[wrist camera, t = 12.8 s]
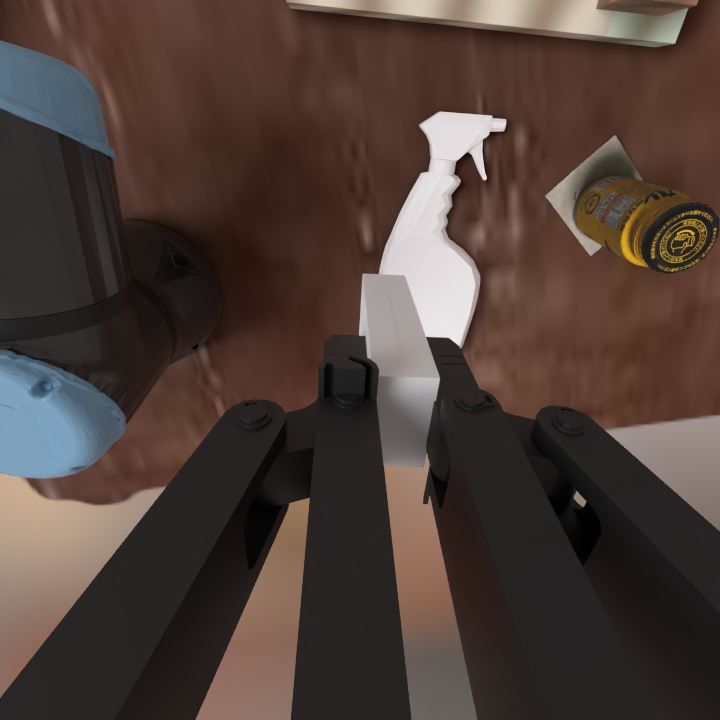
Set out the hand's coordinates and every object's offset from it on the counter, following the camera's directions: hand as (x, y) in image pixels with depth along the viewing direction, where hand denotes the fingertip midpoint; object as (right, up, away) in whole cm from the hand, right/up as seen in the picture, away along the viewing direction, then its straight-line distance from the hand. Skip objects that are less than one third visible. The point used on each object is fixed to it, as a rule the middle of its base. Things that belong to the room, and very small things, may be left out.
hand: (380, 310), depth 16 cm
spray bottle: (+7, +10, +29) cm, 31 cm away
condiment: (+23, +14, +26) cm, 37 cm away
